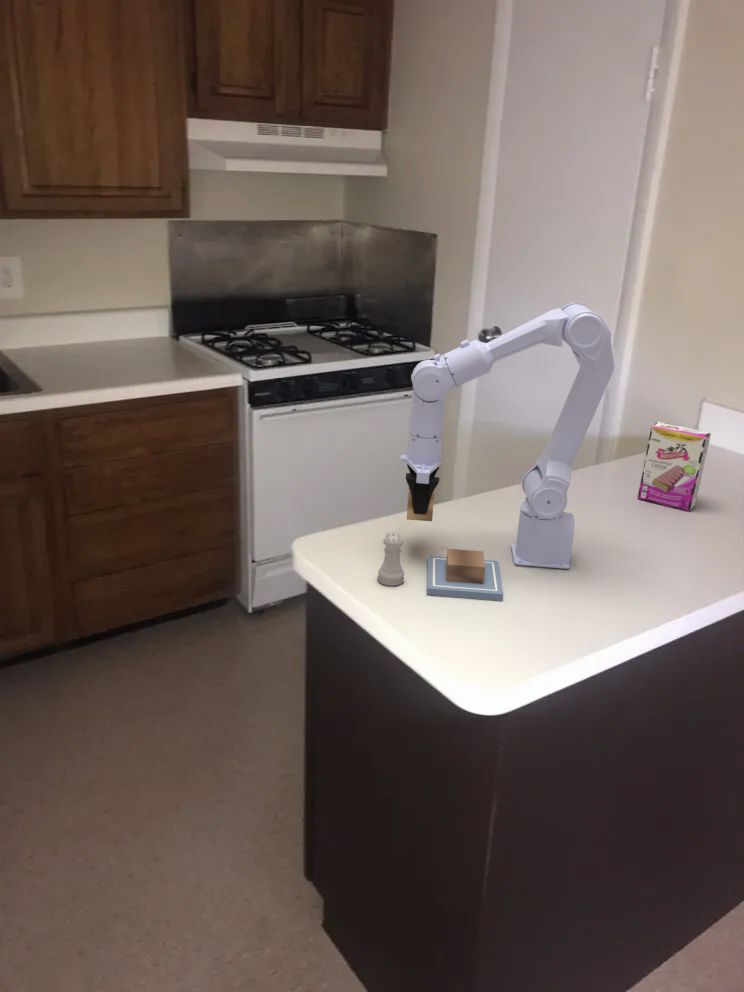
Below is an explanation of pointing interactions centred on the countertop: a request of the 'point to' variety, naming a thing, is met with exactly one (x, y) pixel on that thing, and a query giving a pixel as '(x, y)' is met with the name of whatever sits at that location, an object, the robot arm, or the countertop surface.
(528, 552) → the robot arm
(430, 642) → the countertop surface
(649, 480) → the candy bar box
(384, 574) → the rook chess piece
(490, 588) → the board
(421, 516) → the oak block
